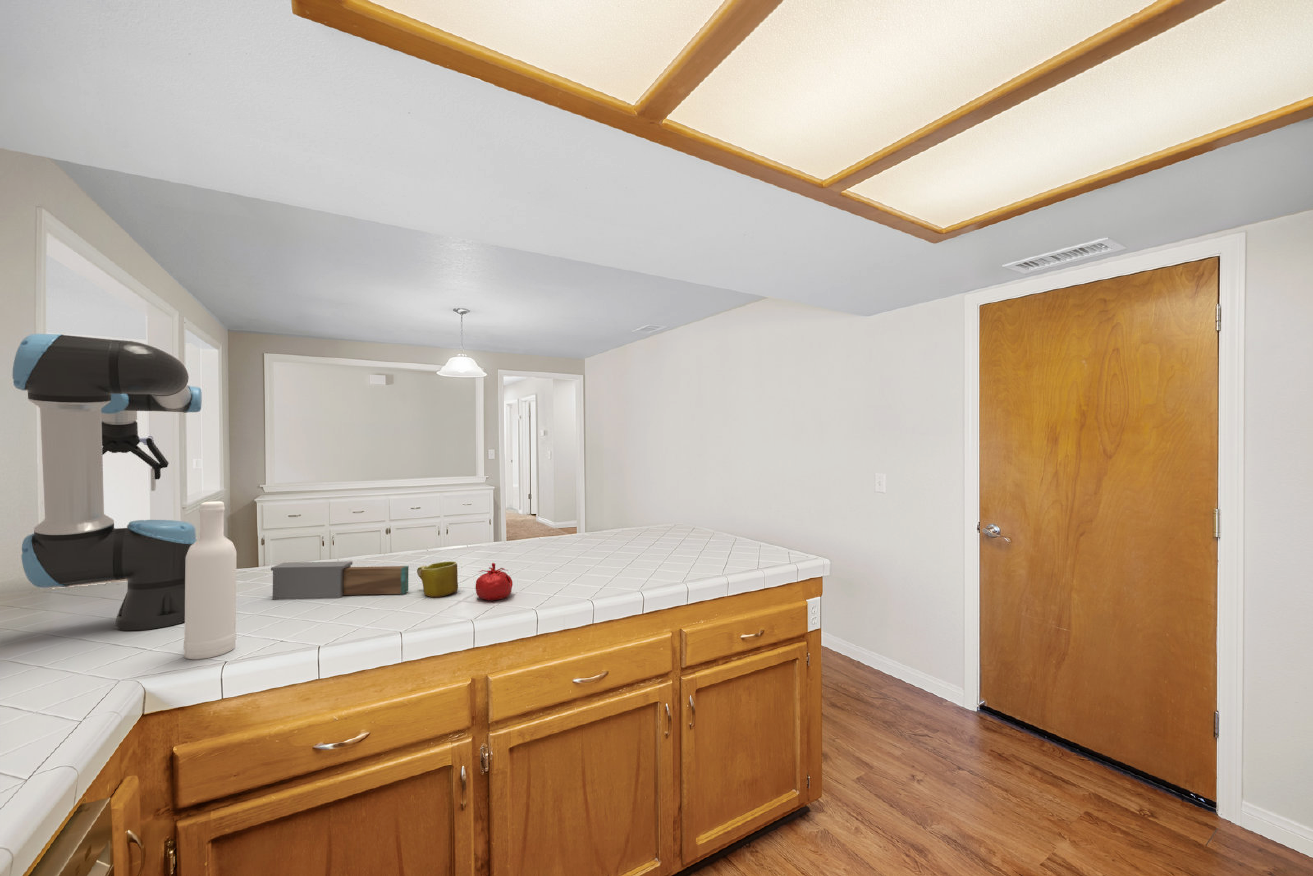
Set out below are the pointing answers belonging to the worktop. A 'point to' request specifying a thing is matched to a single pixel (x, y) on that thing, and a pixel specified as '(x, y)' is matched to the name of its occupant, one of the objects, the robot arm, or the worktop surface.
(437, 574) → the mug
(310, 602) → the worktop surface
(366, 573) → the gate
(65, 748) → the worktop surface
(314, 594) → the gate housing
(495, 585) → the pomegranate
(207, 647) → the bottle
